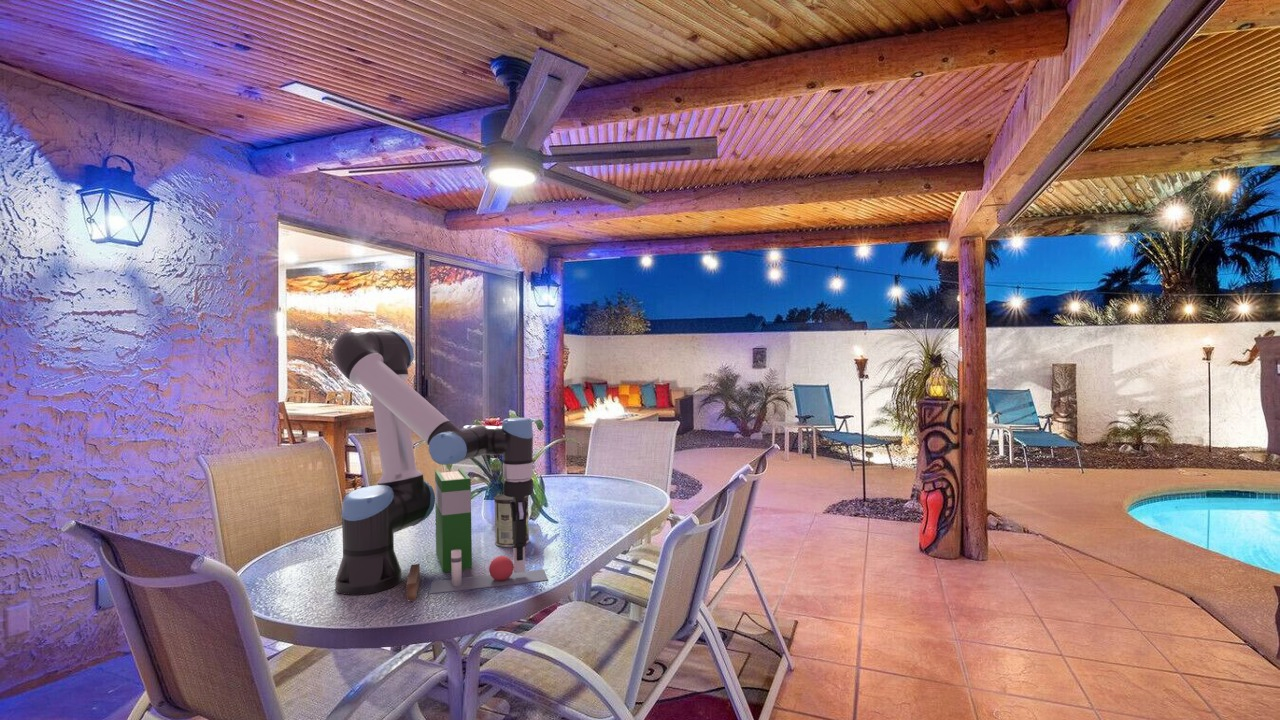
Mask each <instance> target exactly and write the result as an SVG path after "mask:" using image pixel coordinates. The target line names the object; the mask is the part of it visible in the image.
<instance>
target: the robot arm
mask: <svg viewBox="0 0 1280 720" xmlns="http://www.w3.org/2000/svg"><path fill="white" fill-rule="evenodd" d="M414 351H415V350H414V348H413V345H412V342H411V341H410V340H409V338H408V337H407V336H405V335H404V334H402V333H401V332H399V331H394V330H390V329H370V328H353V329H349V330H347V331H345V332H343V333H342V334H341V335H340V336H339V337H338V338H337V339H336V341H335V342H334V345H333V347H332V357H333V358H332V359H333V361H334V364H335V366H336V367H337V369H338V371H340V372H341V374H342V375H343V376H344V377H345V378H346V379H347V380H348V381H350V382H351V383H352V384H354V385H361V386H362V387H363V388H364V389H366V391H367V392H368V393H369V394H370V395H371V397H370V398H371V403H372V409H373V417H374V424H375V431H376V437H377V445H378V451H379V458H380V465H381V473H382V475H381V476H380V478H379V479H378V480H377V485H369V486H366V487H360V488H357V489H355V490H352V491H350V492H348V493H347V494H346V495H345V496H344V498H343V500H342V508H341V521H342V522H341V524H342V526H341V527H342V528H341V529H342V533H341V534H342V558H341V561H340V565H339V567H338V570H337V574H336V576H335V579H334V580H335V582H334V583H335V585H334V586H335V588H336V589H335V591H336V590H337V591H338V592H337V591H336V592H337V593H339V592H340V593H339V594H342V593H345V594H344V595H349V594H360V595H369V594H374V593H378V592H382V591H386V590H388V589H392V588H393V587H395V586H397V585H398V584H400V582H401V581H402V575H403V574H402V573H403V572H402V569H401V566H400V563H399V561H398V557H397V555H396V552H395V547H394V544H395V543H394V542H395V541H394V534H395V533H397V532H399V531H403V530H404V529H407V528H409V527H414V526H416V525H418V524H420V523H421V522H423V521H425V520H426V519H427V518H429V516H430V515H431V514H432V512H433V510H434V508H435V489H434V488H433V486H432V485H430V483H429V482H428V481H426V480H424V473H423V472H422V471H421V470H419V469H418V468H417V466H416V458H415V453H414V445H413V438H412V431H413V432H414V433H415V434H416V435H417V436H418V437H419V438H420V439H421V440H423V442H425V443H426V444H427V445H428V452H429V455H430V457H431V459H432V461H433V462H435V463H437V464H439V465H443V466H445V465H453V464H457V463H460V462H462V461H463V462H464V461H467V460H469V459H473V458H477V457H481V456H485V455H487V456H489V455H490V456H495V455H496V456H502V478H503V479H504V480H503V481H502V484H503V485H502V489H503V491H502V492H503V493H502V494H504V495H505V496H508V497H513V501H510V507H511V517H512V534H513V537H512V539H513V544H514V545H512V547H511V549H513V554H512V557H513V567H514V568H513V573H519V572H525V571H526V546H527V544H526V516H527V511H526V510H527V502H526V500H524V497H525V496H531V495H533V493H534V480H533V477H534V470H533V469H536V465H535V464H534V462H533V461H534V457H533V456H534V453H533V452H534V449H533V448H534V447H533V446H534V440H533V439H534V432H533V421H532V420H531V419H530V418H528V417H509V418H504V419H503V420H502V425H486V424H485V425H483V424H482V425H480V424H471V425H470V424H469V425H468V424H466V425H464V426H462V428H461V429H460V428H459V427H458V426H456V425H455V424H454V423H453V422H452V421H451V420H449V419H448V417H446V416H445V415H443V414H442V413H441V412H440V411H439V410H438V409H437V408H436V407H435V406H434V405H432V403H430V402H429V401H428V400H426V398H425V397H424V396H422V395H421V394H420V393H419V392H417V391H416V390H415V389H414V388H413V387H412V386H411V385H410V384H408V383H407V382H406V380H407V378H408V377H409V370H408V369H409V368H410V367H411V366H412V362H413V361H414V357H415V354H414Z"/></svg>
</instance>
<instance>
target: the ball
mask: <svg viewBox="0 0 1280 720" xmlns="http://www.w3.org/2000/svg"><path fill="white" fill-rule="evenodd" d="M488 572H489V574H490V575H491V577H492V578H493V579H495V580H497V581H504V580H506V579H508V578H509V577H510V576H511V575H512V573H514V562H513V561H512V560H511V558H510V557H508V556H505V555H499V556H496V557H494V558H493V559H492V561H491V562H490V564H489V566H488Z"/></svg>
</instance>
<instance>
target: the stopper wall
mask: <svg viewBox="0 0 1280 720" xmlns="http://www.w3.org/2000/svg"><path fill="white" fill-rule="evenodd" d="M420 567H421V565H420V564H419V563H416V564H411V565H410V568H409V573H408V577H407V581H406V602H409V601H408V600H414V601H417V598H418V593H417V592H418V591H419V587H420V581H421V571H420V570H421V568H420ZM416 597H417V598H416Z"/></svg>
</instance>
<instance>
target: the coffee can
mask: <svg viewBox="0 0 1280 720" xmlns="http://www.w3.org/2000/svg"><path fill="white" fill-rule="evenodd" d="M529 496H530V495H529ZM529 496H525V497H524V500H526V502H527V510H526V511H527V516H526V545H527V544H528V543H529V542H530V532H529V531H530V530H529V529H530V528H529V520H530V519H529ZM493 501H494V531H495V532H494V535H495V536H494V538H495V539H494V541H495V542H494V544H495V546H498V547H501V548H512V545H514V544H513V539H512V537H513V534H512V517H511V507H510V501H513V497H508V496H505V495H504V494H503V493H502V494H497V495H495V496H494V497H493Z"/></svg>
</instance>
